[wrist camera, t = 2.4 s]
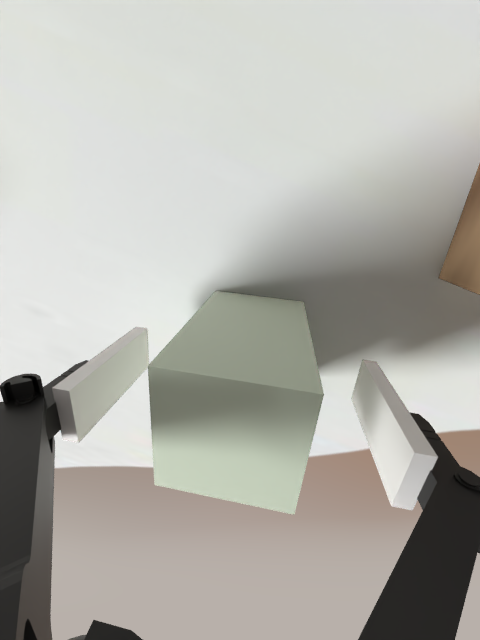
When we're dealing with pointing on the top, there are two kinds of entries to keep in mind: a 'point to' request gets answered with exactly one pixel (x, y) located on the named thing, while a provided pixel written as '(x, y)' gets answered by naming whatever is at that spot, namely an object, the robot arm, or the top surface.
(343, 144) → the top surface
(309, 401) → the sage block
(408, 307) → the top surface
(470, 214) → the tower base
